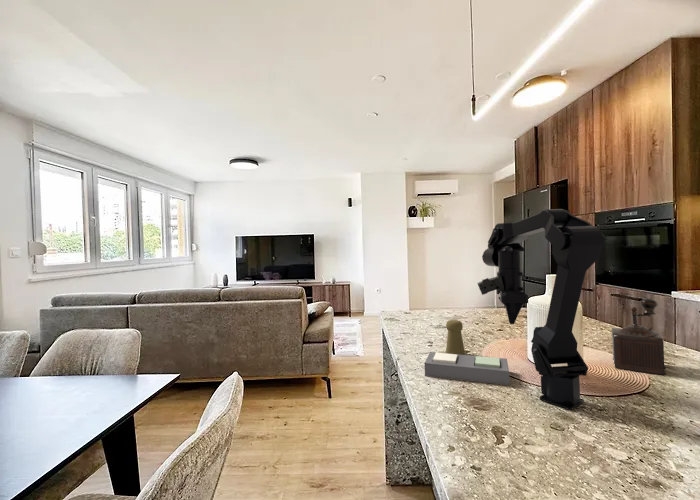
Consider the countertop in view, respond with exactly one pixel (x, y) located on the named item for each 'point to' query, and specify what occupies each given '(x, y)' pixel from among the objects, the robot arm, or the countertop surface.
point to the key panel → (468, 370)
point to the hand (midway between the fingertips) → (511, 323)
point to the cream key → (445, 358)
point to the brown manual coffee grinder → (639, 344)
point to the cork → (454, 338)
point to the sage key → (487, 362)
